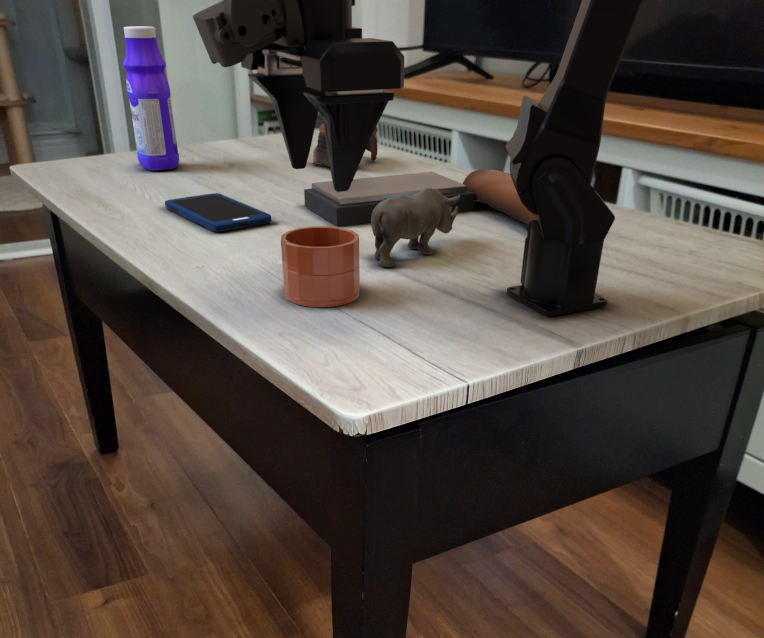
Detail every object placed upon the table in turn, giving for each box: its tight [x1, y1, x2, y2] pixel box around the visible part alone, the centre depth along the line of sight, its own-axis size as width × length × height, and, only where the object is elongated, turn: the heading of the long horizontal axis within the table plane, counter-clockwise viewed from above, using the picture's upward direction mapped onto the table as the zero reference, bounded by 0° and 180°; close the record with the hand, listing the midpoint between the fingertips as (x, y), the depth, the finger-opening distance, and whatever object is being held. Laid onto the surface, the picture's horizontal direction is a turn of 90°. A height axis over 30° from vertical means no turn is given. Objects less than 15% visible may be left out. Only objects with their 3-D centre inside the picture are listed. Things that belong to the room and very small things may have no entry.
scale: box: [303, 171, 475, 227], centre depth 92 cm, size 10×18×3 cm, turn 116°
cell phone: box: [164, 192, 272, 233], centre depth 89 cm, size 7×14×1 cm, turn 37°
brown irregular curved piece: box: [312, 122, 379, 168], centre depth 113 cm, size 12×10×8 cm
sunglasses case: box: [462, 168, 537, 225], centre depth 89 cm, size 18×7×7 cm
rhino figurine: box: [370, 188, 460, 268], centre depth 77 cm, size 4×14×6 cm, turn 139°
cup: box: [280, 225, 361, 308], centre depth 66 cm, size 7×7×5 cm
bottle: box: [122, 25, 180, 171], centre depth 106 cm, size 7×6×17 cm
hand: (319, 179), depth 62 cm, fingers open, 9 cm apart
